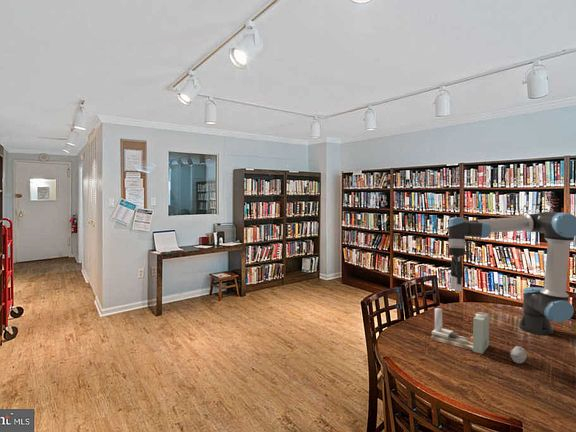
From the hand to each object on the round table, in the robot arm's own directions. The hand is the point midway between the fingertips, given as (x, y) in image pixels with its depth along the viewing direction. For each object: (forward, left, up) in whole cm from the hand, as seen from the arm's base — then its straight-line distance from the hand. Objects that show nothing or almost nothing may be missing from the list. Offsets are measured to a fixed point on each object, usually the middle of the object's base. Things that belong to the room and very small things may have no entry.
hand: (456, 290), depth 173 cm
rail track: (0, +1, -26) cm, 26 cm away
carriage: (+5, +1, -24) cm, 24 cm away
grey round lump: (-28, +6, -27) cm, 39 cm away
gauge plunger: (-9, +1, -24) cm, 26 cm away
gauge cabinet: (-12, +1, -26) cm, 29 cm away
